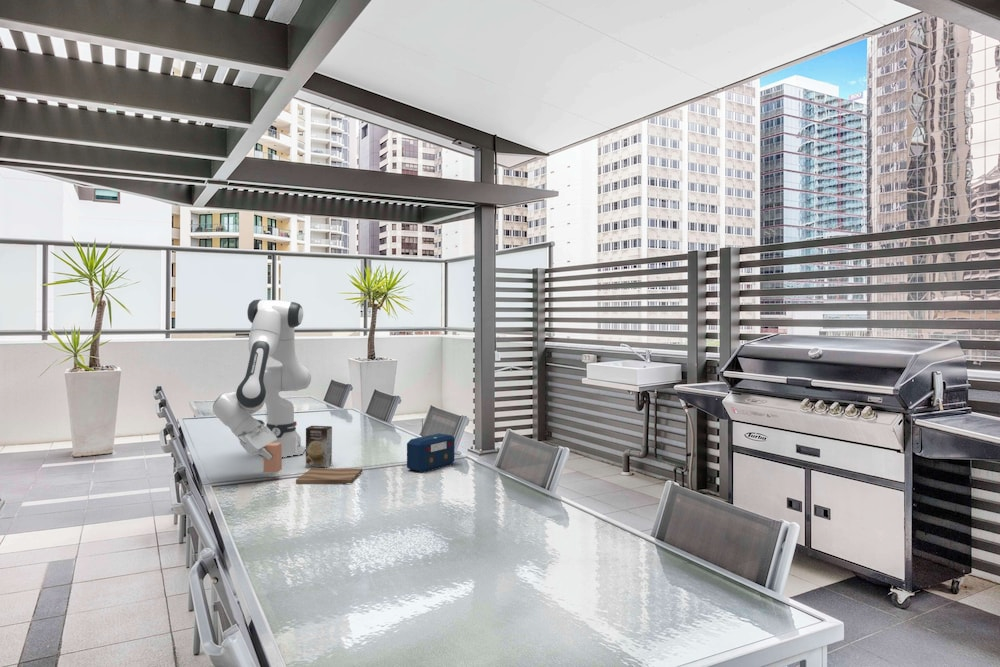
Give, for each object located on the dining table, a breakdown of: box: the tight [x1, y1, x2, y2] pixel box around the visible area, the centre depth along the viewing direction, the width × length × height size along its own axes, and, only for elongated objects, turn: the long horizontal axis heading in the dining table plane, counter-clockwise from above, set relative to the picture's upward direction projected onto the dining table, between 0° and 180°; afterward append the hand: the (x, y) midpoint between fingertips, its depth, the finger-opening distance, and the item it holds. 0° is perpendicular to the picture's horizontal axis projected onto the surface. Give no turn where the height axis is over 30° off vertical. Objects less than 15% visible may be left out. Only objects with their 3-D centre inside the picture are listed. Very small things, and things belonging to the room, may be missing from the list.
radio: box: [406, 419, 455, 473], centre depth 258 cm, size 21×9×20 cm, turn 143°
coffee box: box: [305, 425, 333, 468], centre depth 260 cm, size 9×6×16 cm
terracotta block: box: [262, 443, 283, 473], centre depth 239 cm, size 5×5×10 cm
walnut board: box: [295, 467, 363, 485], centre depth 241 cm, size 18×20×2 cm
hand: (274, 456), depth 239 cm, fingers closed on terracotta block, 5 cm apart
